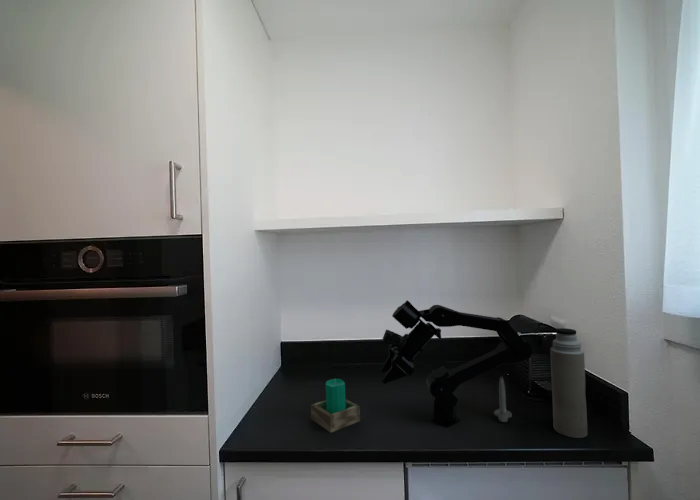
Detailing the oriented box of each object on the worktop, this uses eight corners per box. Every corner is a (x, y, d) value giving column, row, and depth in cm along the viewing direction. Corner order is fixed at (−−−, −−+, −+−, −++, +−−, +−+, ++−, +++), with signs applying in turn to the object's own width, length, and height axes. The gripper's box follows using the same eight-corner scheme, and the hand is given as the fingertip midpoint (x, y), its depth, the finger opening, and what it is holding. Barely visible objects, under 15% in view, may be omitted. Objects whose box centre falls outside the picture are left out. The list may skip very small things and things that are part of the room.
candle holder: (339, 409, 114) (339, 395, 114) (360, 420, 106) (359, 406, 106) (311, 419, 108) (310, 404, 108) (330, 432, 99) (330, 416, 99)
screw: (503, 425, 100) (490, 418, 105) (515, 421, 102) (502, 415, 107) (502, 380, 100) (489, 375, 105) (514, 377, 102) (500, 372, 107)
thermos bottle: (579, 424, 100) (574, 326, 100) (593, 438, 92) (588, 332, 92) (549, 422, 101) (545, 326, 101) (560, 437, 93) (556, 332, 94)
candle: (330, 411, 111) (329, 373, 111) (348, 413, 109) (347, 375, 109) (323, 419, 105) (322, 380, 105) (342, 422, 103) (340, 381, 103)
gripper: (394, 315, 115) (363, 350, 115) (400, 327, 96) (362, 368, 97) (420, 338, 114) (388, 373, 115) (430, 354, 96) (392, 396, 96)
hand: (382, 376), depth 105 cm, fingers open, 9 cm apart
